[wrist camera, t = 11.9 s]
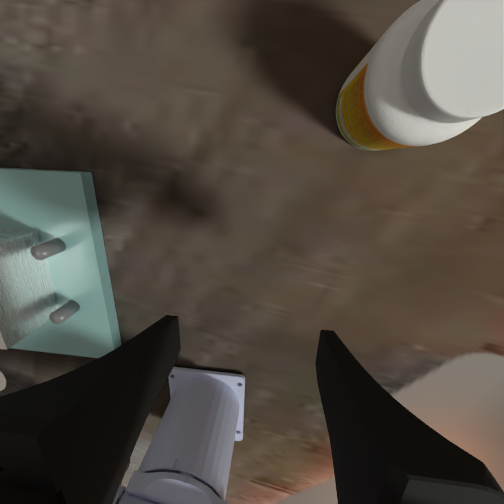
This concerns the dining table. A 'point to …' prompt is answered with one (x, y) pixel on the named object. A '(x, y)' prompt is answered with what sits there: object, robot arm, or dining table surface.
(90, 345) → the pin tray
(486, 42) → the supplement bottle
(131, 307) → the dining table surface
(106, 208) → the dining table surface
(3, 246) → the block
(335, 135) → the dining table surface
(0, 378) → the wineglass
